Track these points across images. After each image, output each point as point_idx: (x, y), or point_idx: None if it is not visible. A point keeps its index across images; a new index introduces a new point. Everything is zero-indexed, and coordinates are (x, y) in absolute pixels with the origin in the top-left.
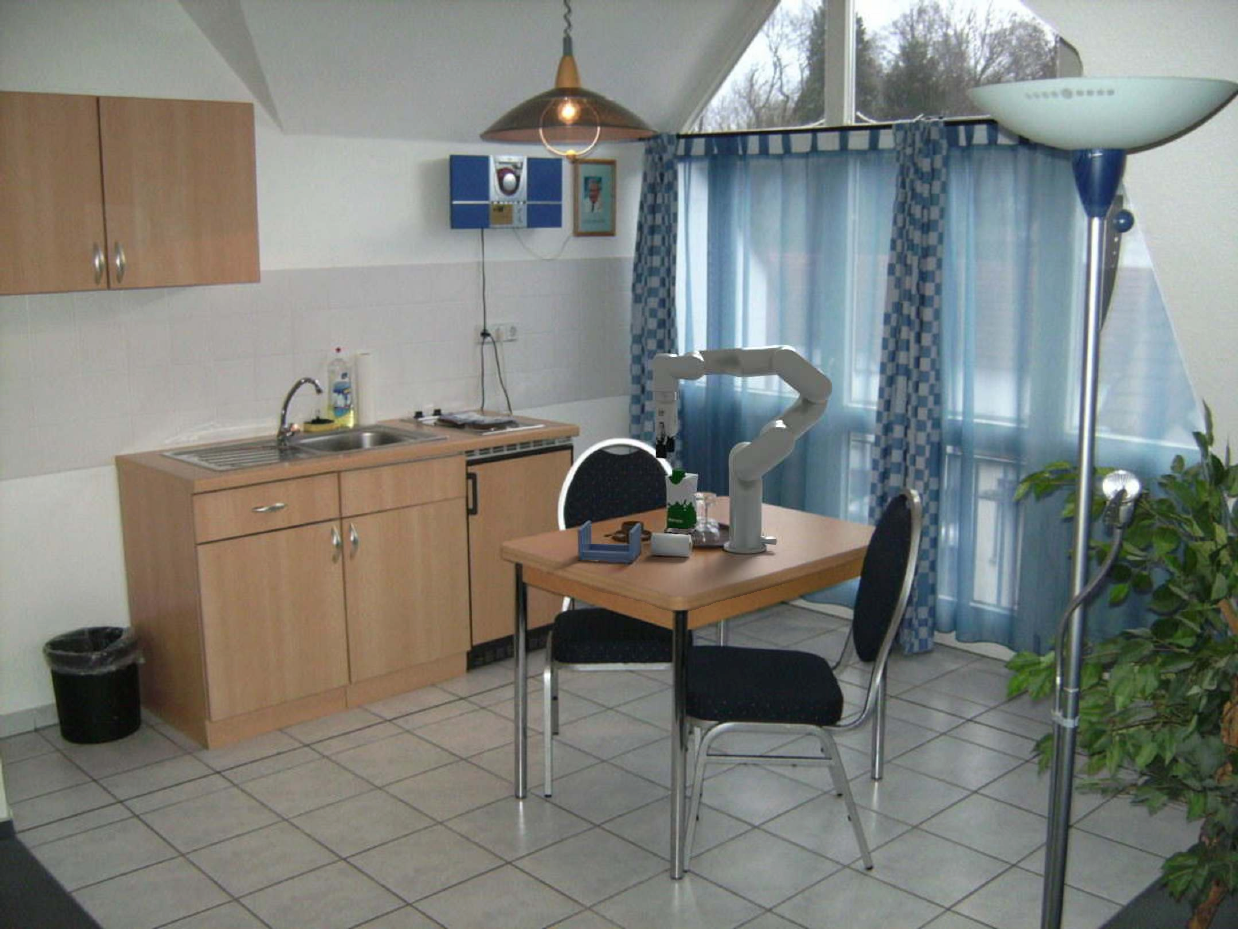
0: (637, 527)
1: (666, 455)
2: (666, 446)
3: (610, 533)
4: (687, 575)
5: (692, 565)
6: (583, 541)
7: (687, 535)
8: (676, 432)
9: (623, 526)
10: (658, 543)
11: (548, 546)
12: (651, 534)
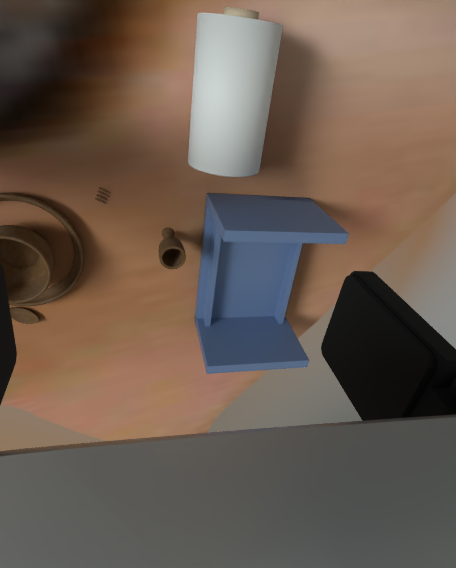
0: (280, 231)
1: (385, 283)
2: (450, 347)
3: None
4: (447, 16)
5: (344, 3)
6: (277, 337)
7: (256, 28)
8: (71, 470)
9: (44, 290)
10: (263, 144)
11: (168, 395)
12: (9, 195)
